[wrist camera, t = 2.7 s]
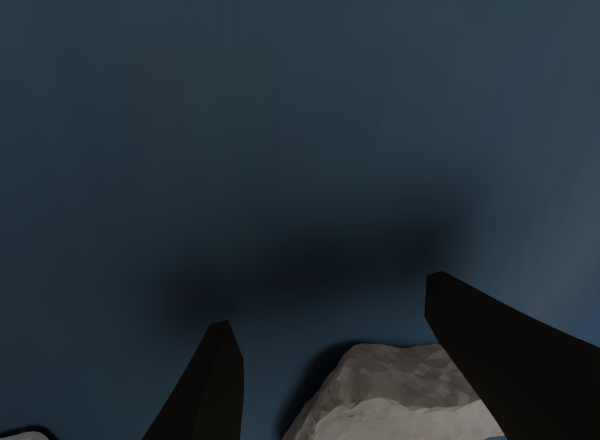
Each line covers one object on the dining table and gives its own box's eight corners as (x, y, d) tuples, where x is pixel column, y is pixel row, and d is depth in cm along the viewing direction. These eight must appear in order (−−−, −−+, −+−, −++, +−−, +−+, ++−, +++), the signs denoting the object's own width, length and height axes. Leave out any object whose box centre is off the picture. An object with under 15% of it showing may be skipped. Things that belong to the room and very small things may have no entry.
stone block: (274, 436, 19) (411, 461, 20) (261, 533, 15) (439, 564, 15) (308, 301, 15) (484, 335, 15) (305, 381, 11) (553, 427, 11)
